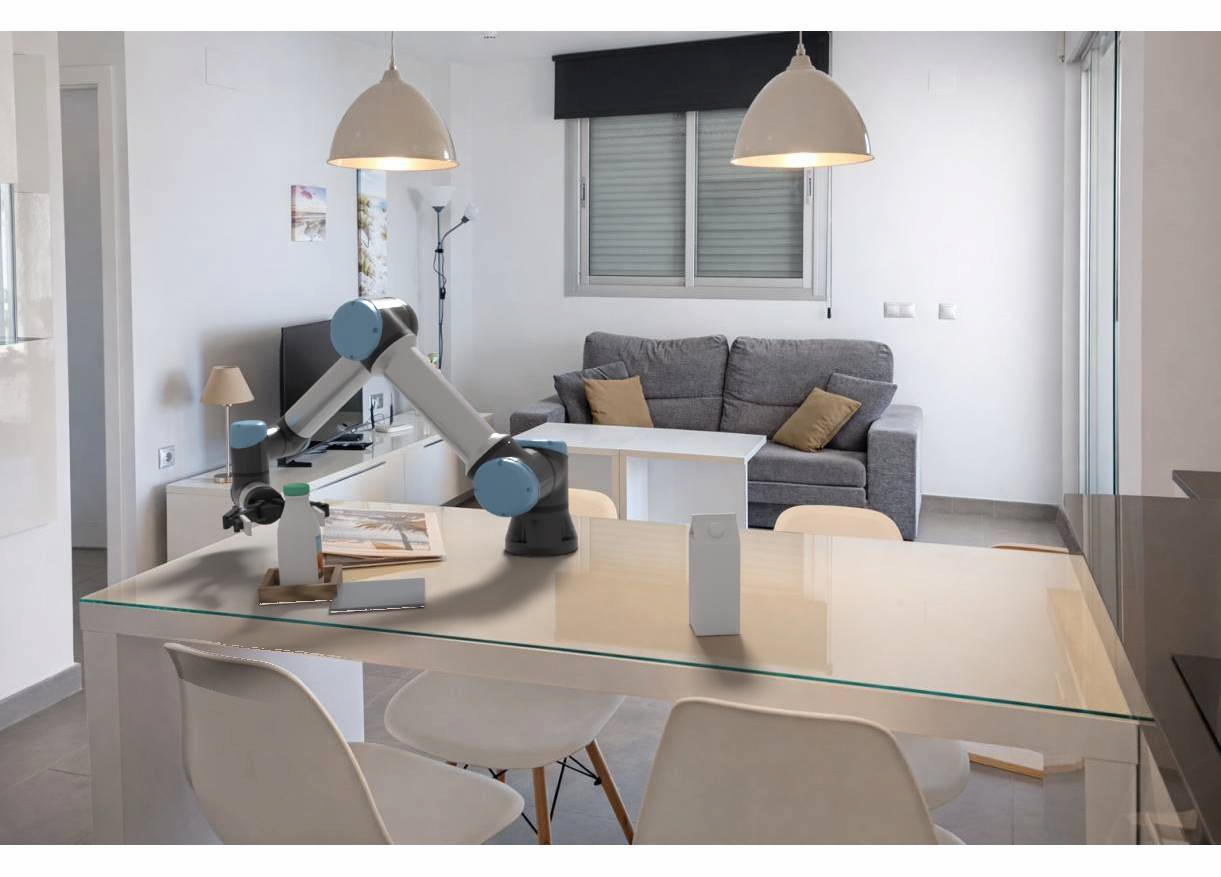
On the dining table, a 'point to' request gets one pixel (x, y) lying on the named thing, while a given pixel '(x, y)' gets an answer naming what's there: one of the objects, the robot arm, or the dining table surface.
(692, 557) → the milk carton
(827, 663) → the dining table surface
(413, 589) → the trivet
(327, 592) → the tray
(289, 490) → the milk bottle
